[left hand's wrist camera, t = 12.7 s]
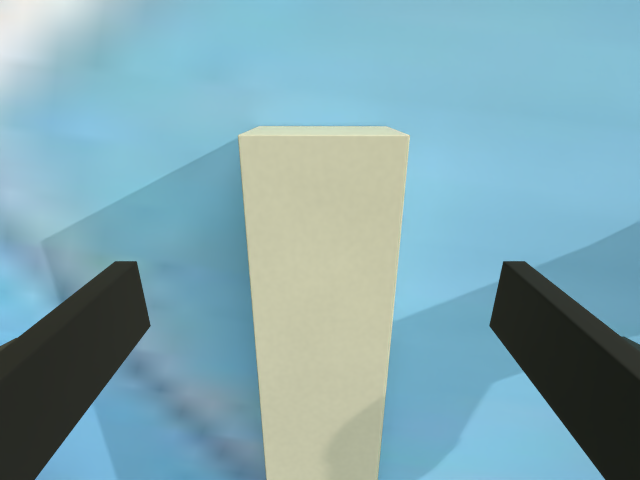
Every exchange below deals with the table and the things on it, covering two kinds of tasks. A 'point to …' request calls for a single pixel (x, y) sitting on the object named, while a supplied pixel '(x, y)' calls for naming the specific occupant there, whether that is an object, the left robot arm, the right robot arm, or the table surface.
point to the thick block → (323, 290)
